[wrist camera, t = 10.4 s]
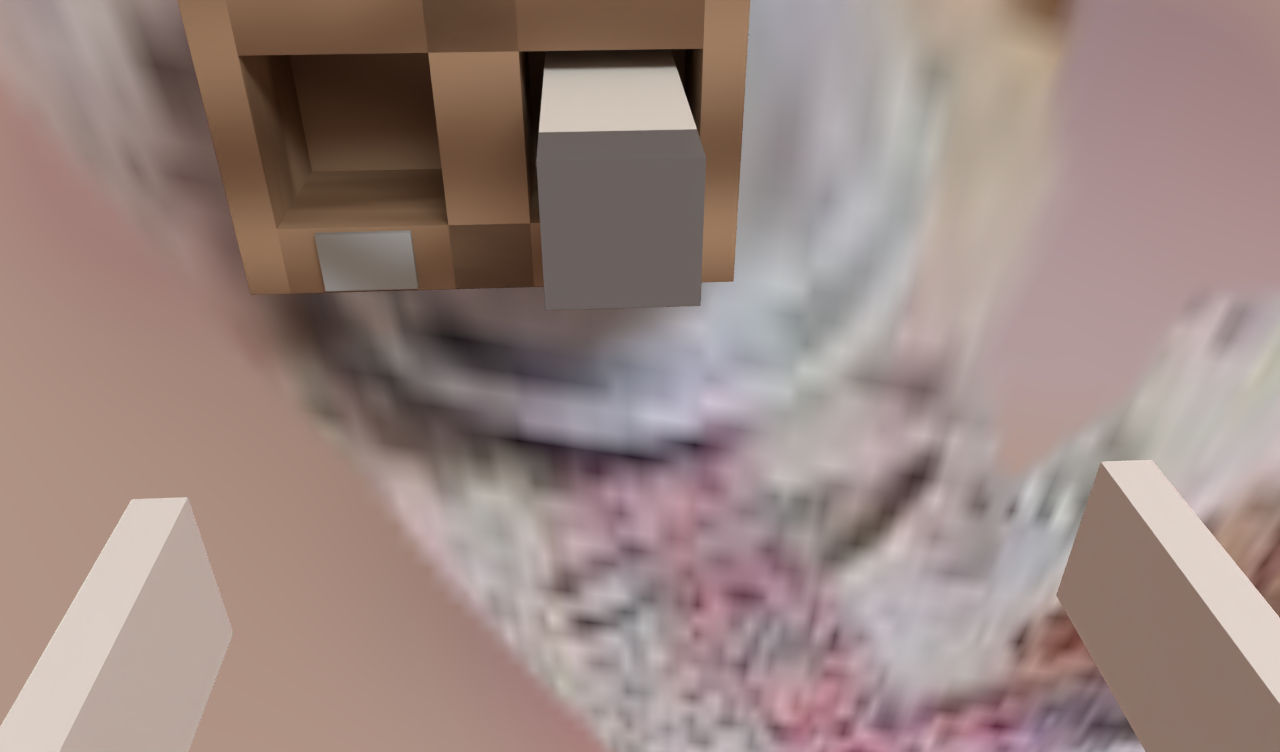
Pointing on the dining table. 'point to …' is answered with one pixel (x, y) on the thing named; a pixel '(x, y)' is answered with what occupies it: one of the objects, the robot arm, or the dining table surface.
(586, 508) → the dining table surface
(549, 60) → the plug
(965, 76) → the dining table surface
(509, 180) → the socket block
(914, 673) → the dining table surface
